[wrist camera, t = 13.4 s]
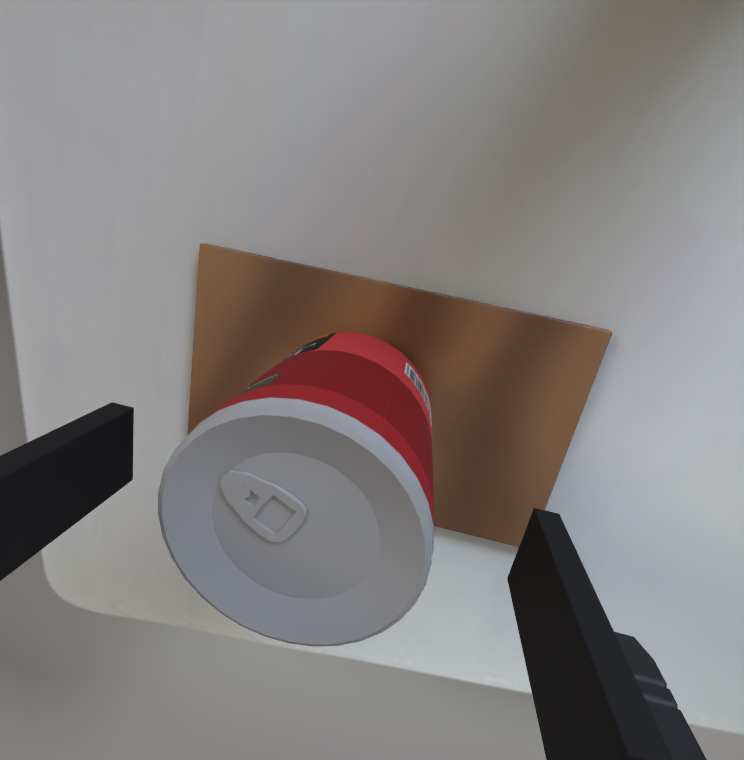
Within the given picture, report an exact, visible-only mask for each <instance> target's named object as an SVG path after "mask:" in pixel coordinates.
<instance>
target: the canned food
mask: <svg viewBox="0 0 744 760" xmlns="http://www.w3.org/2000/svg"><path fill="white" fill-rule="evenodd" d="M158 515H159V520H160V525H161V530H162V535H163V538H164V540H165V543H166V545H167V547H168V550H169V552H170V555H171V557H172V559H173V560H174V562H175V564H176V565H177V567H178V568H179V570H180V571H181V573H182V575H183V576H184V578H185V579H186V580H187V581H188V582H189V583H190V585H191V586H192V587H193V588H194V589H195V590H196V591H197V593H198V594H199V595H200V596H201V597H202V598H203V599H205V600H206V601H207V602H208V603H209V604H211V605H212V606H213V607H214V608H215V609H217V610H218V611H219V612H220V613H222V614H223V615H225V616H226V617H228V618H230V619H231V620H233V621H234V622H236V623H238V624H239V625H241V626H243V627H245V628H247V629H250V630H252V631H254V632H256V633H259V634H261V635H263V636H265V637H269V638H273V639H276V640H280V641H283V642H287V643H292V644H300V645H307V646H338V645H343V644H348V643H353V642H358V641H362V640H364V639H367V638H369V637H372V636H374V635H377V634H379V633H382V632H383V631H385V630H386V629H388V628H389V627H391V626H392V625H393V624H395V623H396V622H398V621H399V620H401V618H402V617H403V616H404V615H405V614H406V613H407V612H408V611H409V610H410V609H411V608H412V607H413V606H414V604H415V603H416V601H417V599H418V597H419V596H420V594H421V592H422V590H423V588H424V587H425V585H426V581H427V577H428V573H429V570H430V566H431V557H432V553H433V538H434V488H433V456H432V423H431V404H430V399H429V394H428V390H427V388H426V385H425V383H424V381H423V378H422V376H421V375H420V373H419V372H418V370H417V369H416V368H415V366H414V365H413V363H412V362H411V361H410V360H409V359H408V358H407V357H406V356H405V355H404V354H403V353H402V352H400V351H399V350H397V349H396V348H394V347H393V346H392V345H390V344H389V343H387V342H385V341H382V340H380V339H378V338H376V337H373V336H370V335H365V334H361V333H357V332H337V333H331V334H325V335H323V336H320V337H317V338H315V339H312V340H310V341H309V342H307V343H306V344H304V345H303V346H301V347H300V348H298V349H297V350H296V351H294V352H293V353H292V354H290V355H289V356H287V357H286V358H285V359H283V360H282V361H281V362H279V363H278V364H277V365H275V366H274V367H273V368H271V369H270V370H269V371H267V372H266V373H265V374H263V375H262V376H260V377H259V378H258V379H256V380H255V381H254V382H252V383H251V384H250V385H248V386H247V387H246V388H244V389H243V390H242V391H240V392H239V393H238V394H236V395H235V396H233V397H232V398H231V399H229V400H228V401H227V402H225V403H224V404H223V405H221V406H220V407H219V408H217V409H216V410H215V411H214V412H213V413H212V414H211V415H209V416H208V417H207V418H205V419H204V420H203V421H201V422H200V423H199V424H198V425H197V426H196V427H195V428H194V429H193V430H192V432H191V433H190V434H189V435H188V436H187V437H186V438H185V439H184V440H183V441H182V443H181V444H180V445H179V446H178V447H177V448H176V449H175V450H174V452H173V454H172V456H171V458H170V459H169V461H168V463H167V465H166V467H165V469H164V471H163V475H162V479H161V483H160V487H159V492H158Z"/></svg>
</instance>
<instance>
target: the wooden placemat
mask: <svg viewBox="0 0 744 760" xmlns="http://www.w3.org/2000/svg"><path fill="white" fill-rule="evenodd" d="M337 332H357V333H361V334H365V335H370V336H373V337H376V338H378V339H380V340H382V341H385V342H387V343H389V344H390V345H392V346H393V347H394V348H396V349H397V350H399V351H400V352H402V353H403V354H404V355H405V356H406V357H407V358H408V359H409V360H410V361H411V362H412V363H413V365H414V366H415V368H416V369H417V370H418V372H419V373H420V375H421V376H422V378H423V381H424V383H425V385H426V388H427V390H428V394H429V399H430V404H431V423H432V456H433V488H434V526H437V527H441V528H445V529H449V530H453V531H457V532H461V533H465V534H469V535H473V536H477V537H481V538H485V539H489V540H493V541H497V542H501V543H505V544H509V545H513V546H517V547H519V546H520V544H521V541H522V538H523V536H524V533H525V530H526V528H527V525H528V522H529V520H530V517H531V514H532V512H533V509H534V508H537V509H541V510H545V507H546V505H547V502H548V499H549V497H550V494H551V491H552V489H553V486H554V484H555V481H556V478H557V476H558V473H559V471H560V468H561V465H562V463H563V460H564V458H565V455H566V452H567V450H568V447H569V444H570V442H571V439H572V437H573V434H574V431H575V429H576V426H577V424H578V421H579V418H580V416H581V413H582V411H583V408H584V405H585V403H586V400H587V397H588V395H589V392H590V390H591V387H592V384H593V382H594V379H595V377H596V374H597V371H598V369H599V366H600V364H601V361H602V358H603V356H604V353H605V350H606V348H607V345H608V343H609V340H610V337H611V335H612V332H611V331H609V330H607V329H602V328H597V327H593V326H588V325H583V324H579V323H574V322H569V321H565V320H560V319H555V318H551V317H546V316H541V315H537V314H532V313H527V312H523V311H518V310H513V309H509V308H504V307H499V306H495V305H490V304H485V303H481V302H476V301H471V300H467V299H462V298H457V297H453V296H448V295H443V294H439V293H434V292H429V291H425V290H420V289H415V288H411V287H406V286H401V285H397V284H392V283H387V282H383V281H378V280H373V279H369V278H364V277H359V276H355V275H350V274H345V273H341V272H336V271H331V270H327V269H322V268H317V267H313V266H308V265H303V264H299V263H294V262H289V261H284V260H280V259H275V258H270V257H266V256H261V255H256V254H252V253H247V252H242V251H238V250H233V249H228V248H224V247H219V246H214V245H210V244H200V251H199V266H198V282H197V297H196V312H195V327H194V343H193V358H192V373H191V389H190V404H189V419H188V435H189V434H190V433H191V432H192V430H193V429H194V428H195V427H196V426H197V425H198V424H199V423H200V422H201V421H203V420H204V419H205V418H207V417H208V416H209V415H211V414H212V413H213V412H214V411H215V410H216V409H217V408H219V407H220V406H221V405H223V404H224V403H225V402H227V401H228V400H229V399H231V398H232V397H233V396H235V395H236V394H238V393H239V392H240V391H242V390H243V389H244V388H246V387H247V386H248V385H250V384H251V383H252V382H254V381H255V380H256V379H258V378H259V377H260V376H262V375H263V374H265V373H266V372H267V371H269V370H270V369H271V368H273V367H274V366H275V365H277V364H278V363H279V362H281V361H282V360H283V359H285V358H286V357H287V356H289V355H290V354H292V353H293V352H294V351H296V350H297V349H298V348H300V347H301V346H303V345H304V344H306V343H307V342H309V341H310V340H312V339H315V338H317V337H320V336H323V335H325V334H331V333H337ZM188 435H187V436H188Z"/></svg>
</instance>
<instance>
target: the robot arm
mask: <svg viewBox="0 0 744 760" xmlns="http://www.w3.org/2000/svg"><path fill="white" fill-rule="evenodd" d="M133 413H134V408H132V407H128V406H124V405H120V404H116V403H110V404H108V405H106V406H103V407H101V408H99V409H97V410H95V411H93V412H91V413H89V414H87V415H85V416H83V417H80V418H78V419H76V420H74V421H72V422H70V423H68V424H66V425H64V426H62V427H60V428H57V429H55V430H53V431H51V432H49V433H47V434H45V435H43V436H41V437H39V438H37V439H35V440H32V441H30V442H28V443H26V444H24V445H22V446H20V447H18V448H16V449H14V450H12V451H10V452H7V453H5V454H3V455H1V456H0V581H1V580H2V579H3V578H5V577H6V576H7V575H8V574H10V573H11V572H12V571H14V570H15V569H16V568H18V567H19V566H20V565H22V564H23V563H24V562H25V561H27V560H28V559H30V558H31V557H32V556H33V555H35V554H36V553H37V552H39V551H40V550H41V549H43V548H44V547H45V546H46V545H48V544H49V543H50V542H52V541H53V540H54V539H56V538H57V537H58V536H60V535H61V534H62V533H63V532H65V531H66V530H67V529H69V528H70V527H71V526H73V525H74V524H75V523H77V522H78V521H79V520H80V519H82V518H83V517H84V516H86V515H87V514H88V513H90V512H91V511H92V510H94V509H95V508H96V507H97V506H99V505H100V504H101V503H103V502H104V501H105V500H107V499H108V498H109V497H110V496H112V495H113V494H114V493H116V492H117V491H118V490H120V489H121V488H122V487H124V486H125V485H126V484H127V483H129V482H130V481H131V480H133ZM507 579H508V584H509V588H510V593H511V597H512V602H513V607H514V611H515V616H516V621H517V625H518V630H519V634H520V639H521V644H522V648H523V653H524V657H525V662H526V667H527V671H528V676H529V681H530V685H531V690H532V694H533V699H534V704H535V708H536V713H537V718H538V722H539V727H540V731H541V736H542V741H543V745H544V750H545V754H546V759H547V760H706V758H705V756H704V754H703V752H702V750H701V748H700V746H699V744H698V743H697V741H696V739H695V737H694V735H693V733H692V731H691V729H690V728H689V726H688V724H687V722H686V720H685V718H684V716H683V714H682V712H681V710H678V708H677V703H676V701H675V699H674V697H673V695H672V693H671V691H670V690H669V689H667V687H666V685H667V684H666V682H665V680H664V678H663V676H662V674H661V673H660V671H659V669H658V667H657V665H656V663H655V661H654V660H653V658H652V657H651V656H650V655H649V654H648V653H647V652H646V650H645V649H644V648H643V647H642V646H641V645H640V643H639V642H638V641H637V640H636V639H635V638H634V637H632V636H628V635H624V634H620V633H617V632H614V631H613V629H612V627H611V625H610V623H609V620H608V618H607V616H606V614H605V612H604V610H603V607H602V605H601V603H600V601H599V599H598V597H597V595H596V592H595V590H594V588H593V586H592V584H591V582H590V579H589V577H588V575H587V573H586V571H585V569H584V566H583V564H582V562H581V560H580V558H579V556H578V553H577V551H576V549H575V547H574V545H573V543H572V541H571V538H570V536H569V534H568V532H567V530H566V528H565V525H564V523H563V521H562V519H561V517H560V515H559V514H557V513H553V512H549V511H545V510H541V509H537V508H534V509H533V512H532V514H531V517H530V520H529V522H528V525H527V528H526V530H525V533H524V536H523V538H522V541H521V544H520V546H519V549H518V552H517V554H516V557H515V559H514V562H513V565H512V567H511V570H510V573H509V575H508V578H507Z"/></svg>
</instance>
